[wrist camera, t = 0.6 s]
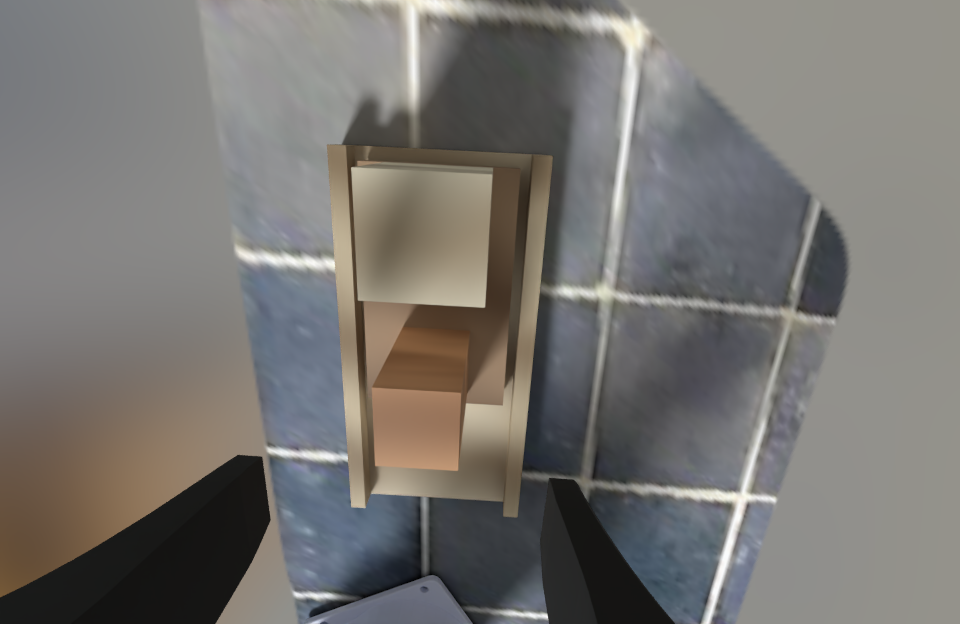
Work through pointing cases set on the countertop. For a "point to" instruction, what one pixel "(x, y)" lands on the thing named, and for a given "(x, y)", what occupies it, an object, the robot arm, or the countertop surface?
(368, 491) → the rail bed
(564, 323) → the countertop surface
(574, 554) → the robot arm
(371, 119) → the countertop surface
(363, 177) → the cube
